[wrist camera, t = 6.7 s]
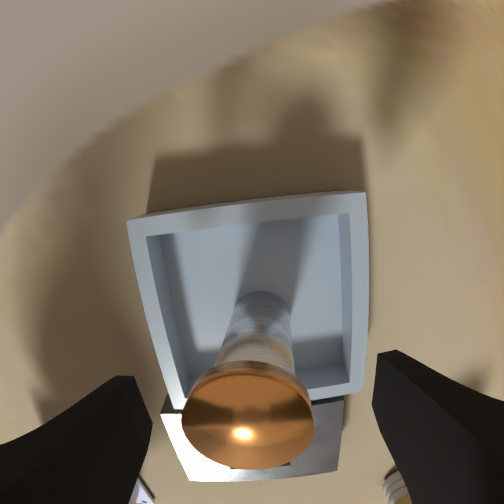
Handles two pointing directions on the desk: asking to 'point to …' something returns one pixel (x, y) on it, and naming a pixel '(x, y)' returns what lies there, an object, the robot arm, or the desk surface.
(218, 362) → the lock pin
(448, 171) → the desk surface
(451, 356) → the desk surface
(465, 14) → the desk surface
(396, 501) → the light bulb
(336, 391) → the tray
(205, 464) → the block
